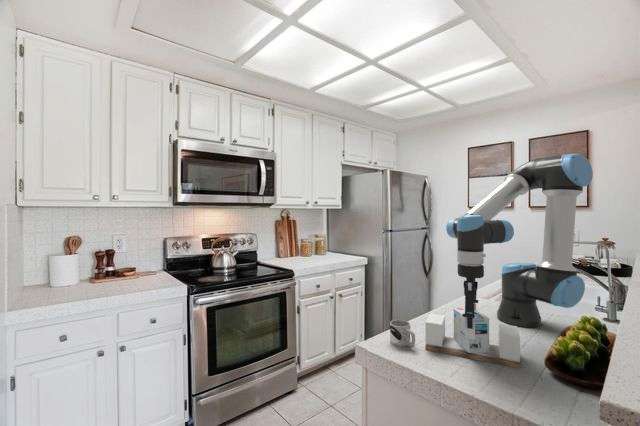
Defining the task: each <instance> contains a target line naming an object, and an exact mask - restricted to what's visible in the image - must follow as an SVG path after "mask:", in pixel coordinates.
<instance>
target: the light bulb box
mask: <svg viewBox="0 0 640 426" xmlns="http://www.w3.org/2000/svg"><path fill="white" fill-rule="evenodd" d="M467 313H470V312H467ZM462 314H465V307H453V338H454V339H455V340H456V341H457V342H458V343H459V344H460V345H461V346H462V347H463V348H464V349H465V350H466V351H467V352H468V353H489V344H490V318H489V317H487V316H486V315H484V314H483V313H481V312H479V311H478V310H477V309H476V310H475V309H474V315H475V339H469V338H465V317H463V316H462Z"/></svg>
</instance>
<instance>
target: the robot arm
mask: <svg viewBox="0 0 640 426" xmlns="http://www.w3.org/2000/svg"><path fill="white" fill-rule="evenodd" d="M593 175H594V172H593V166H592V165H591V162H590V161H589V159H588V158H587V157H586V156H584V155H583V154H581V153H569V154H567V153H564V154H559V155H555V156H554V155H553V156H548V157H540V158H535V159H532V160H529V161H527V162H524V163H523V164H521V165H520V166H518V167H516V168H515V169H513V171H511V172H510V173H509V174H508V175H506V176H505V177H504V179H503V182H502V183H501V184H500V185H498V186H497V187H496V188H495V189H493V190H492V191H491V192H490V193H488V195H486V196H485V197H484V198H483V199H481V200H480V201H479V202H478V203H476V205H474V206H473V207H472V208H470V209H469V211H467V212H466V213H465V214H463V215H460V216H458V217H456V218H452V219H450V220H449V221H448V222H447V223H446V227H445V229H446V230H445V231H446V234H447V235H448V237H450V238H453V239H456V240H457V244H456V245H457V250H456V251H457V252H456V255H457V256H456V257H457V263H458V264H457V275H458V276H459V277H461V278H465V280H463V293H464V294H463V295H464V299H465V300H464V308H465V314H462V316H463V317H465V338H469V339H475V315H474V309H475V310H476V311H477V304H479V299H477V294H478V293H477V292H478V285H479V284H478V283H479V282H478V281H476V279H482V278H484V276H485V267H484V265H483V264H484V261H485V259H484V258H486V257H487V255H486V253H484V249H485V245H491V244H503V243H507V242H509V241H511V240H512V239H513V237H514V235H515V229H514V227H513V224H511V222H509V221H507V220H505V219H494V218H495V217H496V216H497V215H498V214H500V213H501V212H502V211H503V210H504V209H505V208H507V206H509V205H510V204H511V203H512V202H513V201H515V200H516V198H518V197H519V196H523V195H526V194H527V193H528V192H530V191H533V190H538V189H541V193H543V195H545V196H546V201H545V203H546V204H545V215H544V217H545V218H544V229H543V230H544V231H543V242H542V243H543V247H542V259H541V261H540V262H539V263H531V262H512V263H505V264H503V265H502V268H501V301H500V304H499V306H498V309H497V311H496V317H497V319H498V320H499V321H501V322H502V323H504V324H507V325H511V326H517V327H522V328H537V327H538V328H539V327H540V326H541V325H542V316H541V313H540V311H539V308H538V305H537V301H539V302H543V303H545V304H549V305H552V306H555V307H559V308H560V307H561V308H565V309H569V308H573V307H574V306H577V304H579V302H581V300H582V298H583V297H584V293H585V289H586V285H585V282H584V279H583V278H582V277H581V276H579V275H578V269H577V268H576V267H575V266H573V255H574V239H575V228H576V227H575V225H576V211H577V197H579V196H580V195H582V193H583V192H584V191H583V190H584V187H586V186H589V185H590V183H591V182H592V180H593ZM467 312H470V313H467Z"/></svg>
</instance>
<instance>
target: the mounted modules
mask: <svg viewBox="0 0 640 426" xmlns="http://www.w3.org/2000/svg"><path fill="white" fill-rule="evenodd" d="M518 327H519V326H515V325H511V324H505V323H504V324H503V323H498V346H499V354H500V358H505V359H510V360H515V361H520V362H521V336H520V332H519V328H518ZM445 337H446V316H445V315H443V314H437V313H436V314H435V313H429V315H428V317H427V318H426V321H425V345H426V344H432V345H437V346H442V345H443V341H444V338H445Z"/></svg>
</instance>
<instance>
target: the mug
mask: <svg viewBox="0 0 640 426" xmlns="http://www.w3.org/2000/svg"><path fill="white" fill-rule="evenodd" d="M389 328H390V329H389V330H390V331H389V337H390V338H389V342H390V344H391V345H392V346H395V347H400V348H406V347H408V346H409V347H415V345H416V334H415V332H413V331H412V329H411V323H410V322H409V321H408V320H404V319H392V320H391V321H390V322H389Z"/></svg>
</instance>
